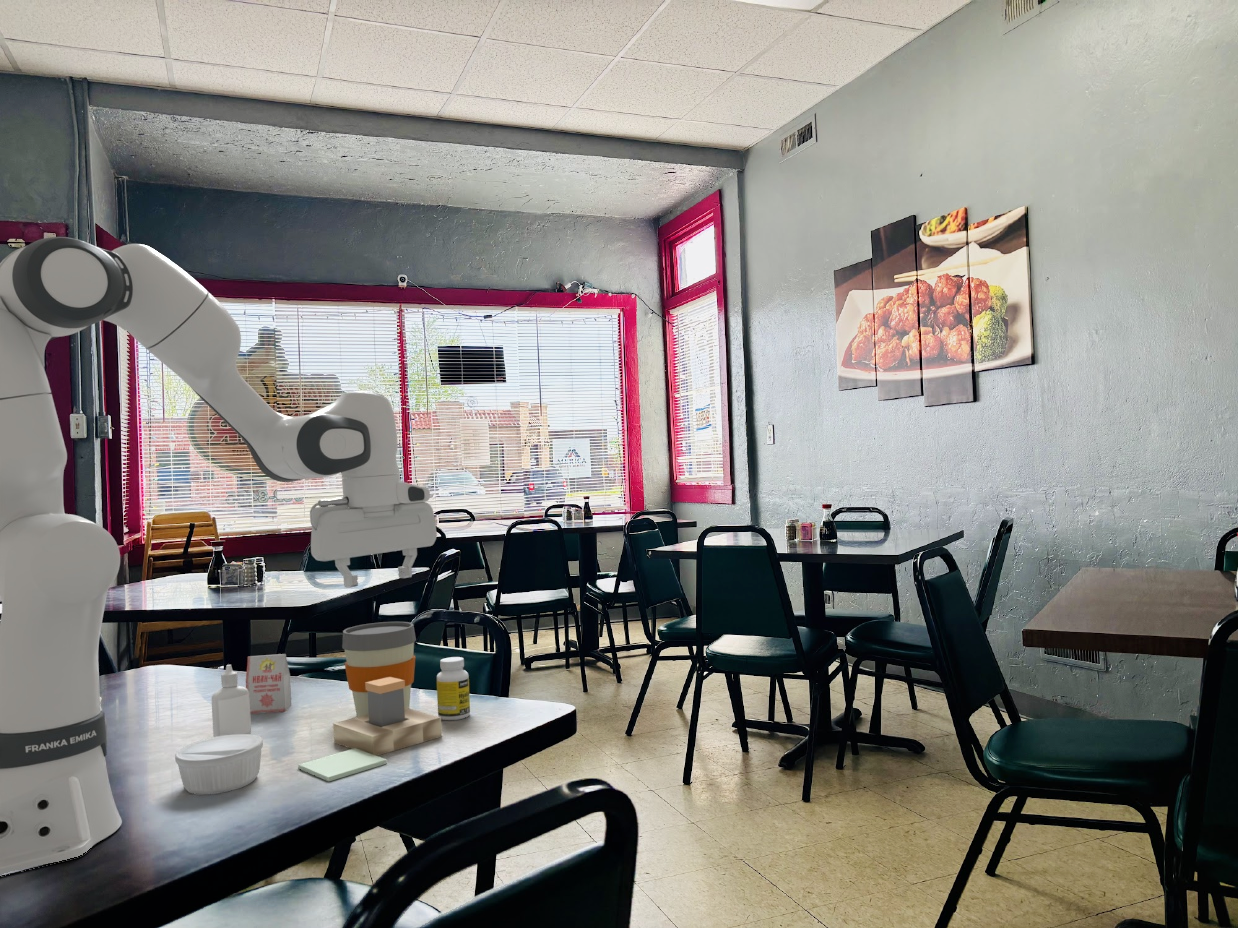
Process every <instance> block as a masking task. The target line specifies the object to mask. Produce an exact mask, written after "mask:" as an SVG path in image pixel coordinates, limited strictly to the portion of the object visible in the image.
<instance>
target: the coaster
mask: <svg viewBox="0 0 1238 928" xmlns="http://www.w3.org/2000/svg"><path fill="white" fill-rule="evenodd" d="M387 763H388V762H387V759H386V758H383V757H381V756H379V755H378V756H375V755H373V754H370V753H367V752H364V751H362V750H359V749H356V748H354V749H351V748H349V749H348V750H344V751H340V752H336V753H334V754H331V755H326V756H322V757H320V758H317V759H313V760H310V761H306V762H303V763H298V764H297V765H298V766H297V767H298V769H299V770H300V769H301V771H302V772H306V773H307V772H308V774H310V775H312V776H314V775H315V776H314V777H317V778H319V779H321V780H324V781H326V782H331V781H335V780H339V779H342V778H344V777H347V776H351V775H354V774H358V773H361V772H364V771H367V770H370V769H373V768H377V767H380V766H385V765H387Z"/></svg>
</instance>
